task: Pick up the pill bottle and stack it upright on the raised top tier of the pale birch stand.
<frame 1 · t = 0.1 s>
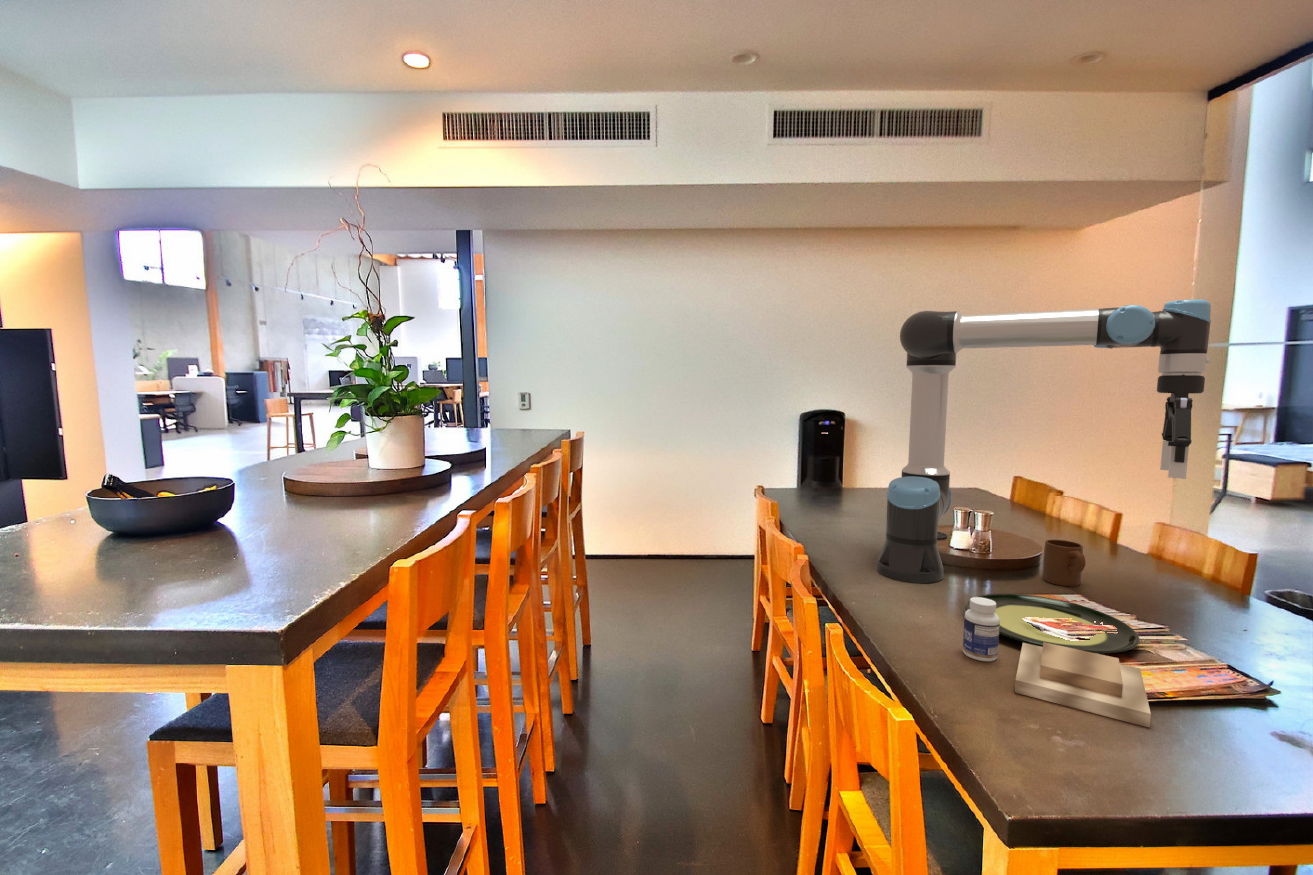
hand: (1172, 474, 127), 28 cm above the table, fingers open, 13 cm apart
mug: (1066, 585, 140), on the table
base: (1078, 686, 93), on the table
plate: (1045, 631, 115), on the table
pill bottle: (979, 656, 103), on the table
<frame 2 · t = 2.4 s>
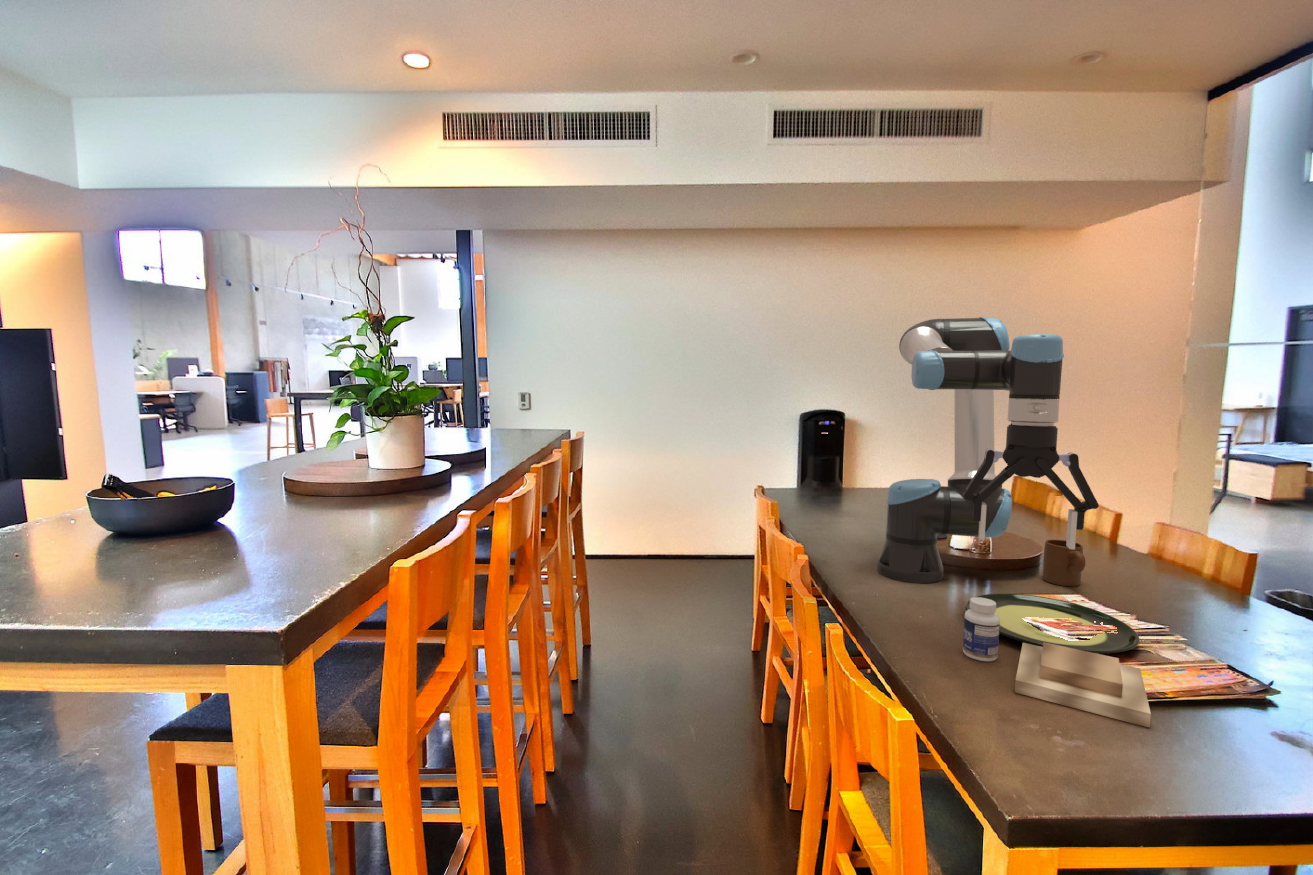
hand: (1024, 543, 106), 19 cm above the table, fingers open, 13 cm apart
nothing on the table moved.
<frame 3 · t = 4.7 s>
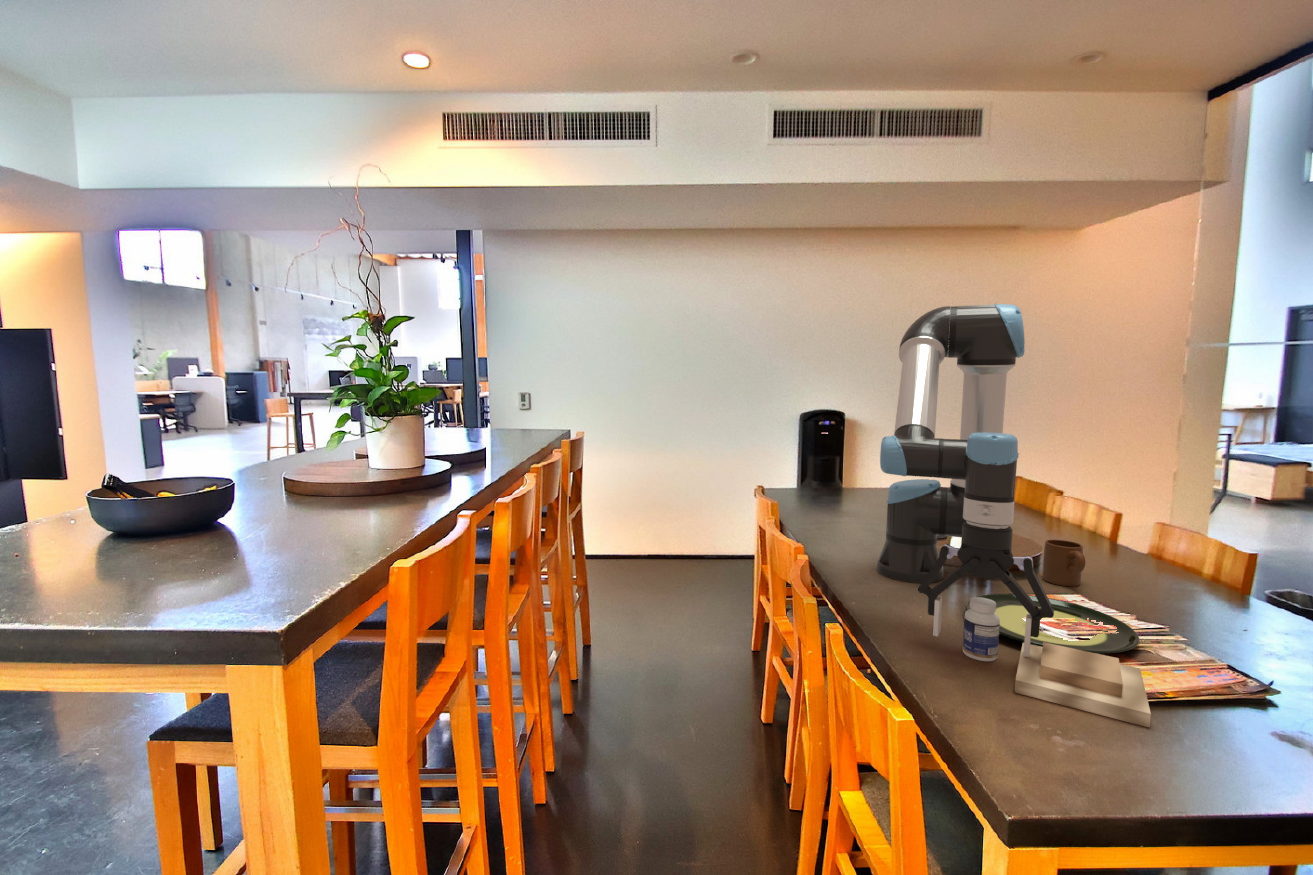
hand: (979, 644, 103), 2 cm above the table, fingers open, 13 cm apart
nothing on the table moved.
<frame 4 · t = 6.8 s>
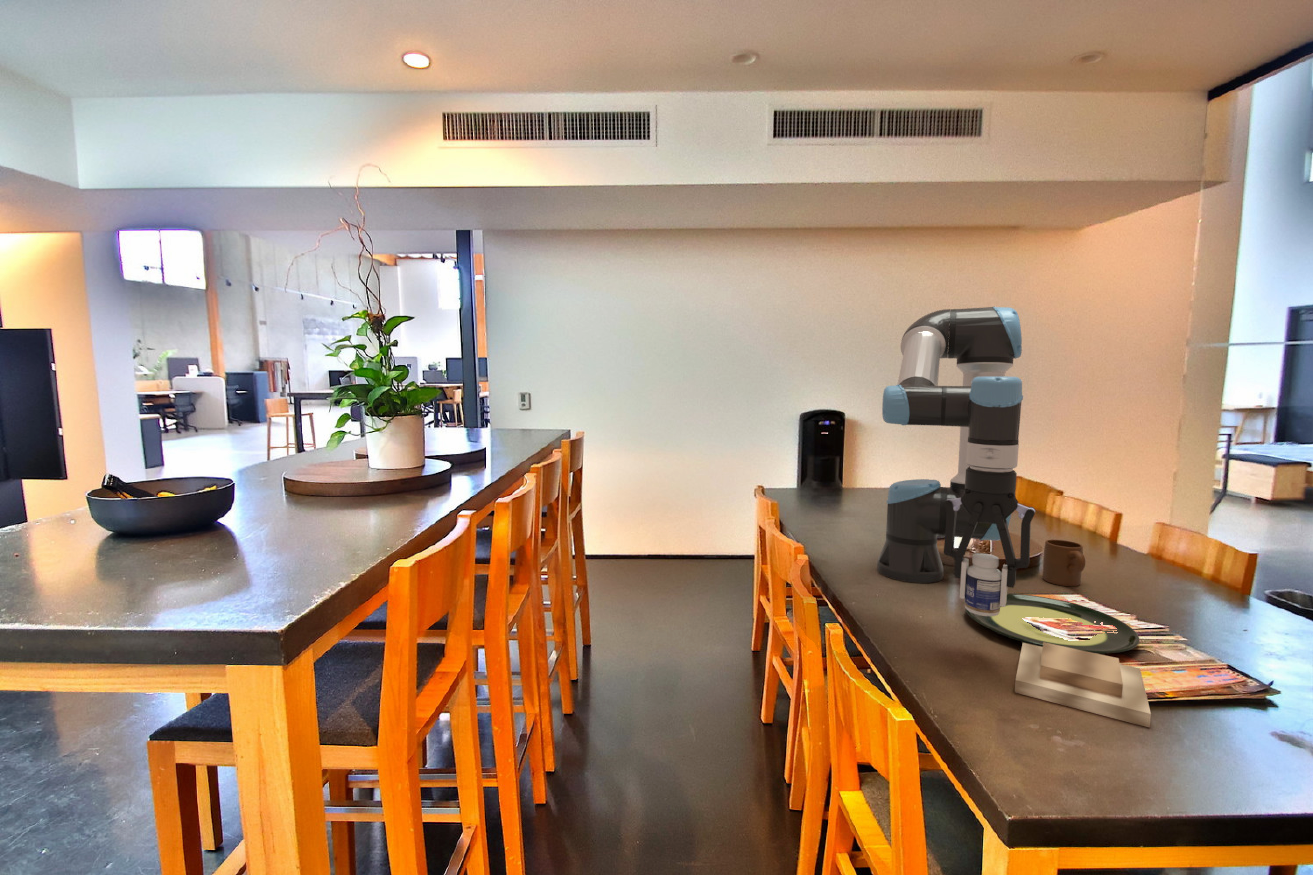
hand: (982, 599, 103), 10 cm above the table, fingers closed on pill bottle, 5 cm apart
pill bottle: (981, 612, 103), point 8 cm above the table, touching gripper
everything else where it was.
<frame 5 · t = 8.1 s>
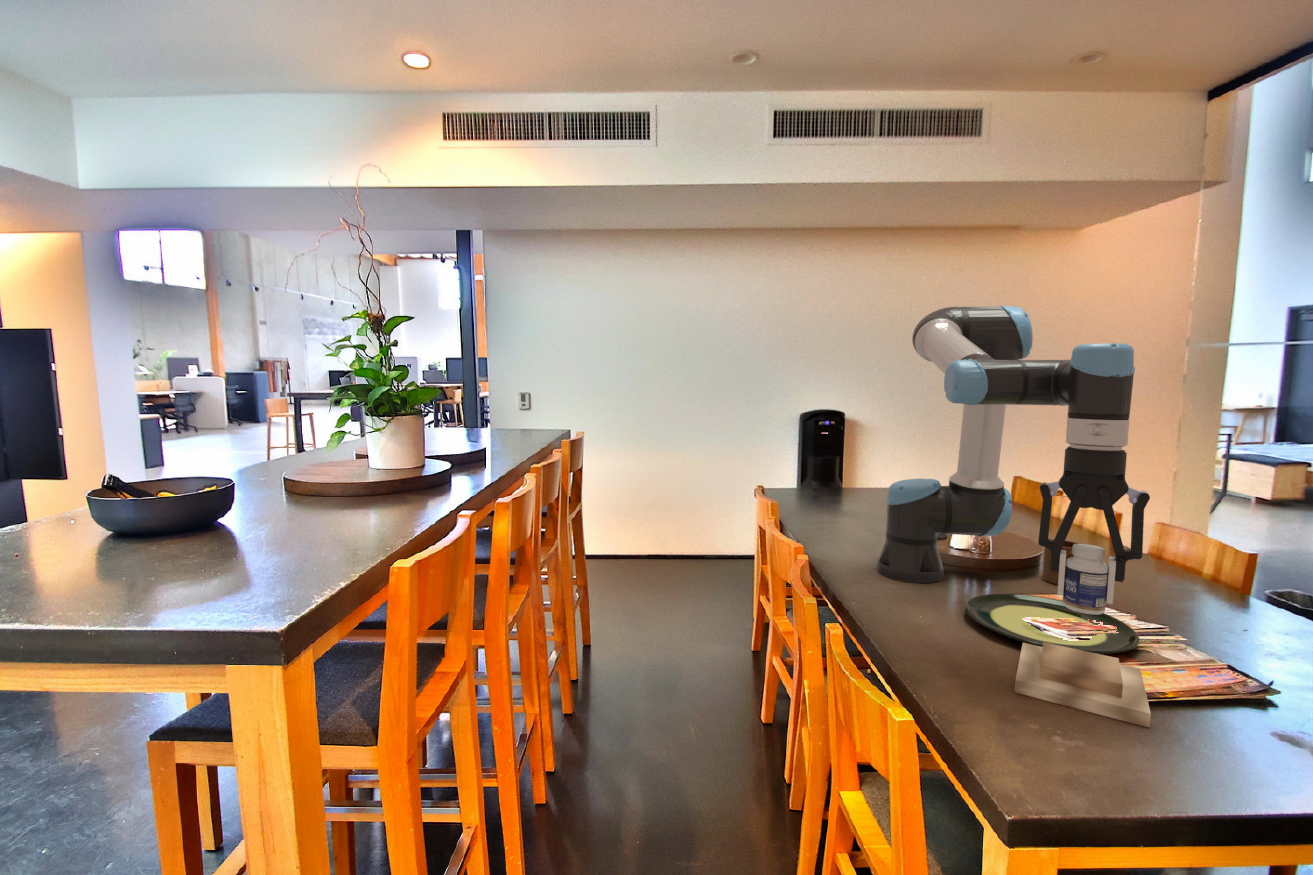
hand: (1084, 596, 91), 15 cm above the table, fingers closed on pill bottle, 5 cm apart
pill bottle: (1083, 610, 92), point 12 cm above the table, touching gripper
everything else where it was.
when the fingers open (6 cm above the table, at t = 9.7 s): pill bottle stays where it is, resting on base.
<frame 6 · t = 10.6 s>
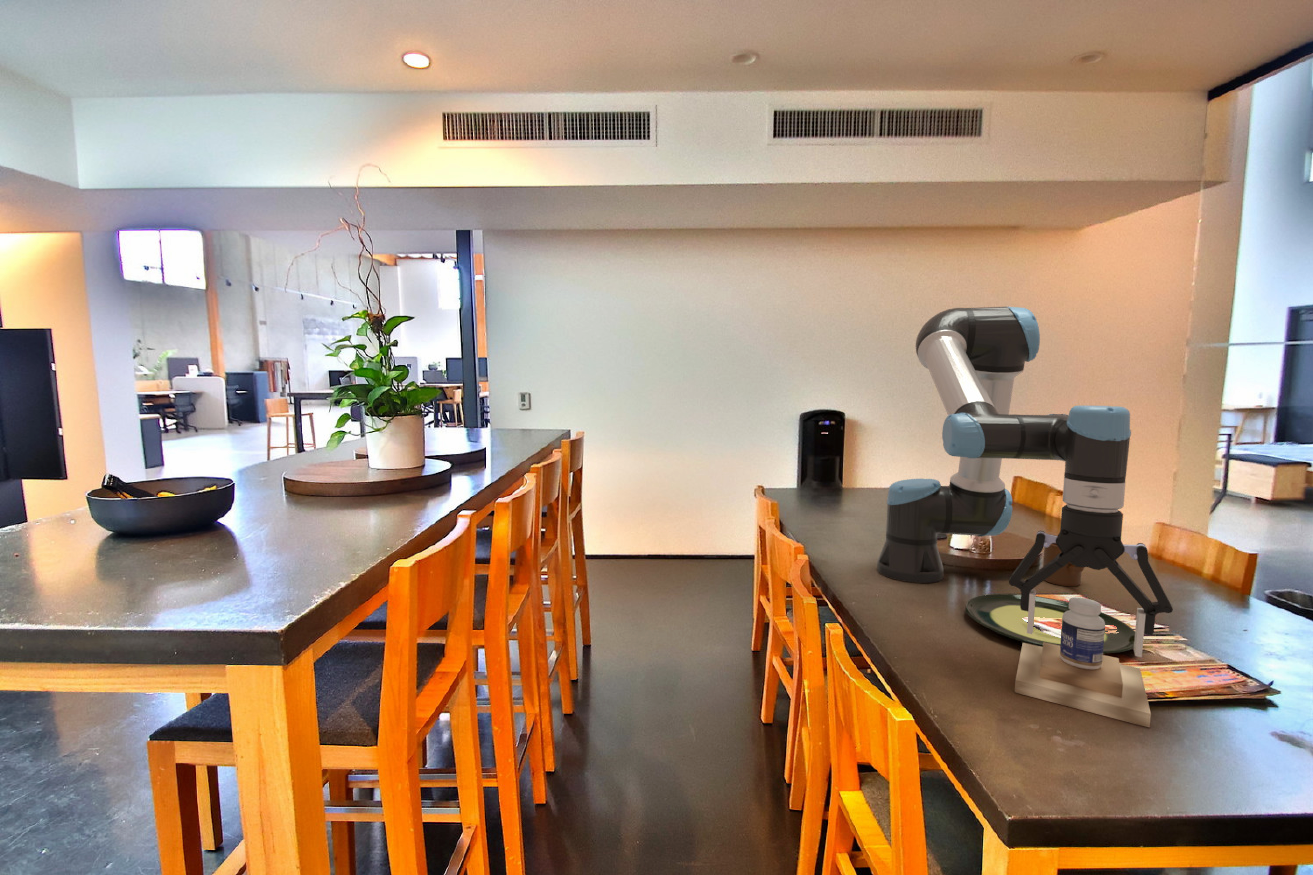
hand: (1081, 641, 92), 7 cm above the table, fingers open, 13 cm apart
pill bottle: (1080, 663, 92), point 4 cm above the table, touching base
everything else where it was.
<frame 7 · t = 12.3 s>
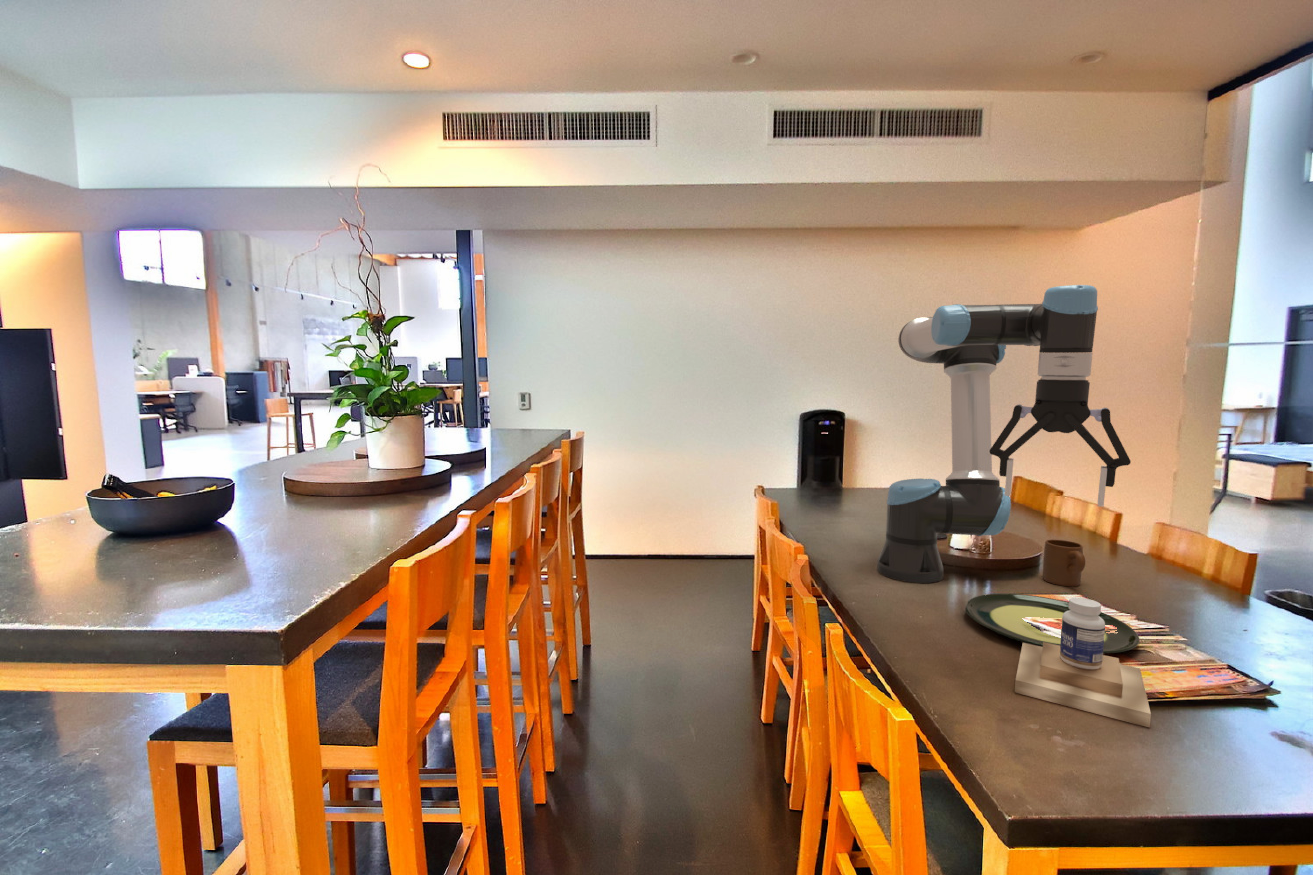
hand: (1052, 499, 104), 27 cm above the table, fingers open, 13 cm apart
nothing on the table moved.
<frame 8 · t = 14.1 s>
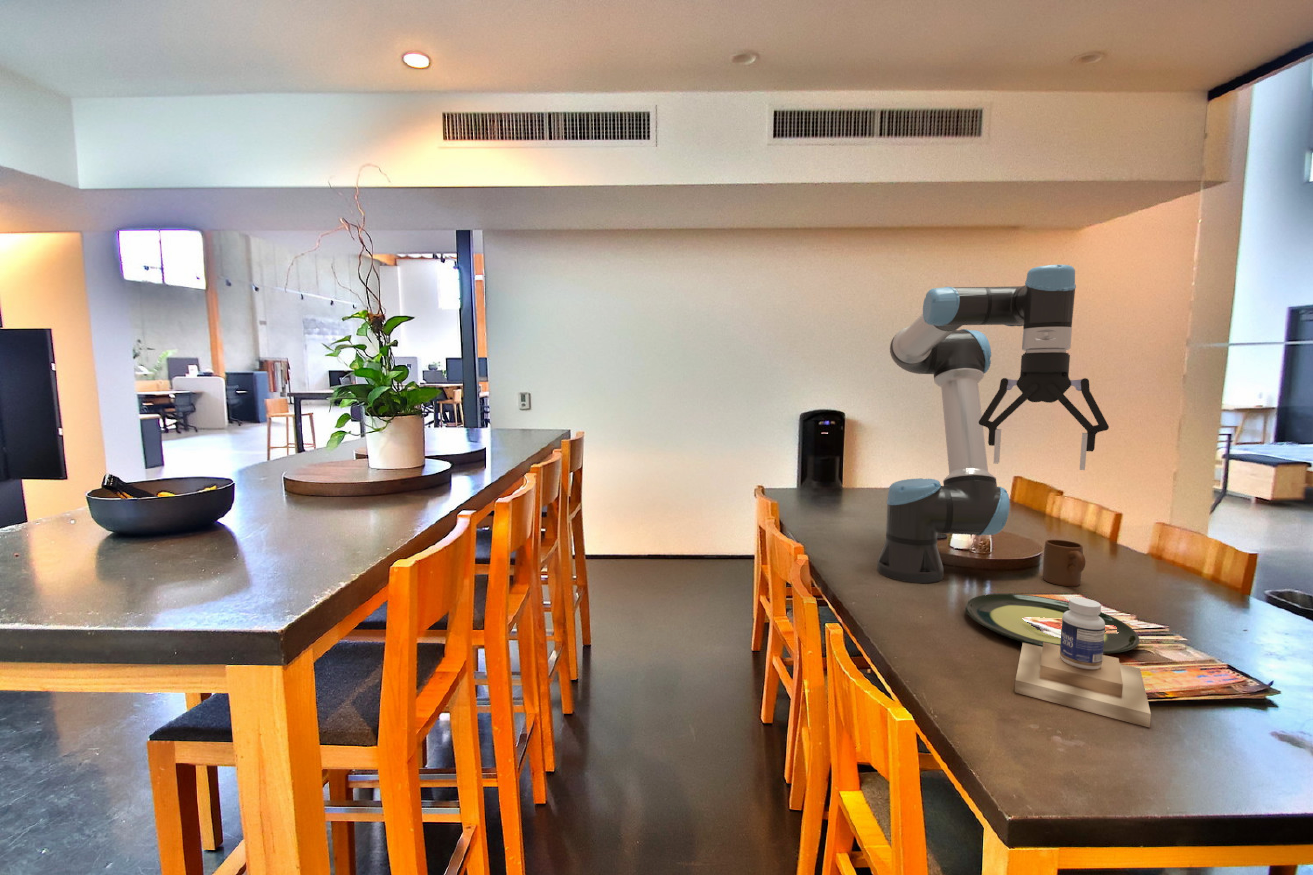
hand: (1037, 466, 112), 32 cm above the table, fingers open, 13 cm apart
nothing on the table moved.
at the end: pill bottle inside the target area on the base (0.3 cm from its centre), point 3.8 cm above the base's base; pill bottle tilted 0°; the gripper is holding nothing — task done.
